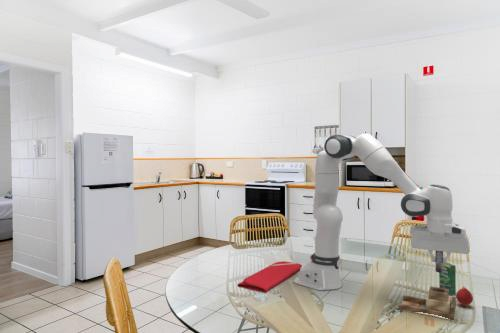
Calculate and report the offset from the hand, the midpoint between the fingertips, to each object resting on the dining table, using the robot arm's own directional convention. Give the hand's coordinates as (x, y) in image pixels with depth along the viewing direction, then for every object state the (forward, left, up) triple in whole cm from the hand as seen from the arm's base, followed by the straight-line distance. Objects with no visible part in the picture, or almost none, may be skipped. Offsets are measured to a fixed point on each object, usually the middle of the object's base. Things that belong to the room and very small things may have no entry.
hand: (439, 262), depth 139 cm
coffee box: (+1, +26, -20) cm, 33 cm away
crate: (0, 0, -19) cm, 19 cm away
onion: (+8, +12, -20) cm, 24 cm away
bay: (-5, 0, -19) cm, 20 cm away
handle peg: (0, 0, -4) cm, 4 cm away
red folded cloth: (-75, +1, -20) cm, 77 cm away
